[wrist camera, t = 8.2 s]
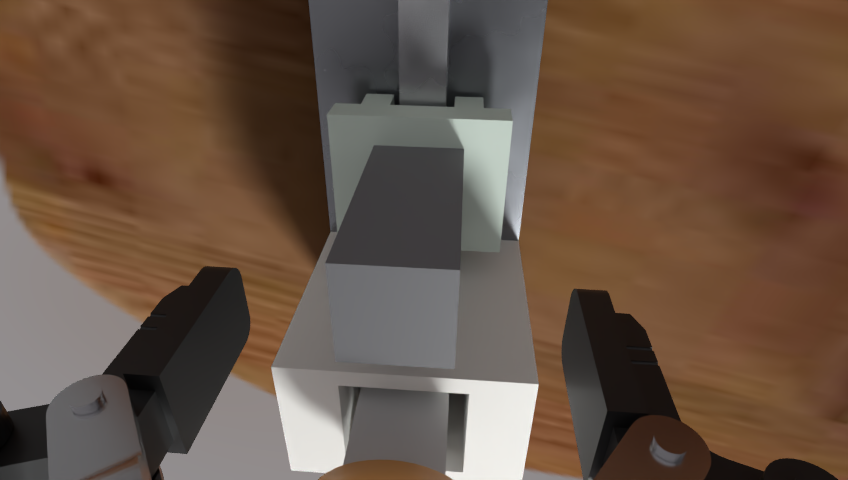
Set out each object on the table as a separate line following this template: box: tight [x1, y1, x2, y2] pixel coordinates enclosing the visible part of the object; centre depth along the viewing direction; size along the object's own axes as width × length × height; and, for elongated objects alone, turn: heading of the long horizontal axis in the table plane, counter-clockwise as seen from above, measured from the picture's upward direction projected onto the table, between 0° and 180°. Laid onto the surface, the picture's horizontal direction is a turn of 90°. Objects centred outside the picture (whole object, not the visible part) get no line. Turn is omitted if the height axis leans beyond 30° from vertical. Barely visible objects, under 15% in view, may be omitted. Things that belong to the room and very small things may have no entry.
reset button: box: [318, 387, 453, 480], centre depth 17 cm, size 5×5×7 cm
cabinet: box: [271, 232, 539, 480], centre depth 21 cm, size 5×8×8 cm, turn 89°
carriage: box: [325, 94, 513, 369], centre depth 17 cm, size 5×6×9 cm
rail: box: [309, 0, 548, 241], centre depth 18 cm, size 28×8×2 cm, turn 179°
